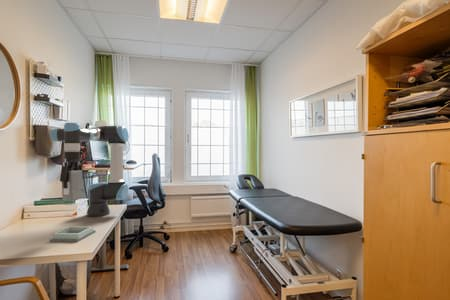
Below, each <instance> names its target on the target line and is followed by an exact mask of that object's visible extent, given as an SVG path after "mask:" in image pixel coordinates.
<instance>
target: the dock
mask: <svg viewBox="0 0 450 300" xmlns="http://www.w3.org/2000/svg"><path fill="white" fill-rule="evenodd" d="M95 233H96V229H95V230H94V226H77V225H75V226H71V225H70V226H67V227H65V228H63V229H60V230H58V231H55V232H54V233H52V238H50V239H49V242H55V243H57V242H58V243H60V242H61V243H79V242H81V241H82V240H84V239H86V238H87V237H90V236H91V235H94V234H95Z"/></svg>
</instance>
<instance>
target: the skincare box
mask: <svg viewBox="0 0 450 300" xmlns="http://www.w3.org/2000/svg"><path fill="white" fill-rule="evenodd" d="M68 172H69V180H68V182H69V185H70V194H69V195H64V188H63V182H61V195H62V197H61V198H62V201H64V202H65V201H68V202H69V201H70V202H73V201H77V200H81V199H84V187H83V186H84V185H83V183H84V182H83V180H82V170H78V171H73V170H72V171H68Z"/></svg>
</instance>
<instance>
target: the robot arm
mask: <svg viewBox="0 0 450 300" xmlns="http://www.w3.org/2000/svg"><path fill="white" fill-rule="evenodd" d="M63 126H64V127H63V128H52V129H51V131H50V134H49V135H50V138H51V140H52V141H53V142H57V143H58V142H60V143H61V142H64V143H63V144H64V145H63V149H64V153H63V157H64V158H63V159H65V161H63V162H61V170H60V177H59V181H60V182H61V183H62V182H63V188H64V195H69V194H70V185H69V182H68V180H69V172H68V171H78V170H82V181H83V179H84V178H85V177H84V170H83V168H84V167H83V161H82V160H79V159H81V152H80V151H81V142H90V141H91V142H104V143H105V142H106V143H107V144H108V146H109V147H110V153H109V154H110V161H109V163H110V164H109V165H110V167H109V168H110V169H109V173H110V174H109V177H110V178H109V180H108V181H102V182H94V183H91V184H89V188H88V191H89V194H88V198H89V203H88V204H89V206H88V207H87V211H86V216H87V217H91V218H97V217H103V216H107V215H110V213H111V210H110V208H109V204H108V201H123V200H125V199H126V198H127V196H128V194H129V185H128V183H126V180H125V179H124V146H125V145H126V143H127V142H128V141H129V138H130V137H129V131H128V129H127V127H125V126H124V125H103V126H101V125H100V126H96V127H95V126H94V127H89V128H83V127H81V124H80V122H79V123H78V122H66V123H64V125H63Z"/></svg>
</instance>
